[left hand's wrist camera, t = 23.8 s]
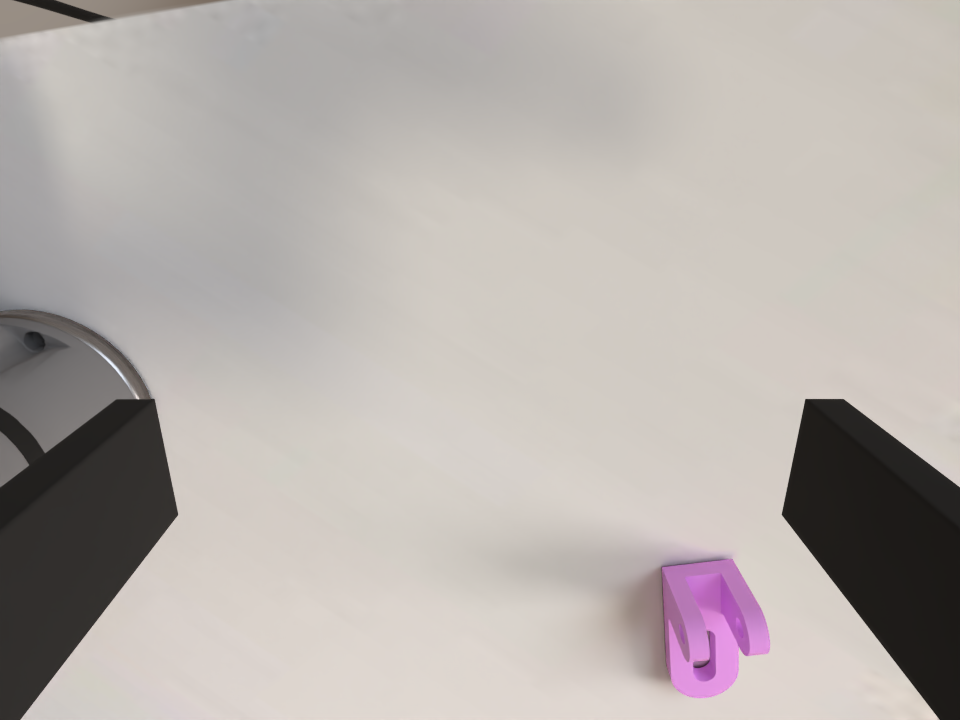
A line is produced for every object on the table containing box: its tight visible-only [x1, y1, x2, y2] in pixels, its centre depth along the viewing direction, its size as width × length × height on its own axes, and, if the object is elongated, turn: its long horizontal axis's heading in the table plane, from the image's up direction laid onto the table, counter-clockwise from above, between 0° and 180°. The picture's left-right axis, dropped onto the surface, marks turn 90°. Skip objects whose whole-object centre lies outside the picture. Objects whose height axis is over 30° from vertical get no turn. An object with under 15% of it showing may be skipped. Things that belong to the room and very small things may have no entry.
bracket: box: [662, 559, 770, 698], centre depth 48 cm, size 13×6×7 cm, turn 8°
